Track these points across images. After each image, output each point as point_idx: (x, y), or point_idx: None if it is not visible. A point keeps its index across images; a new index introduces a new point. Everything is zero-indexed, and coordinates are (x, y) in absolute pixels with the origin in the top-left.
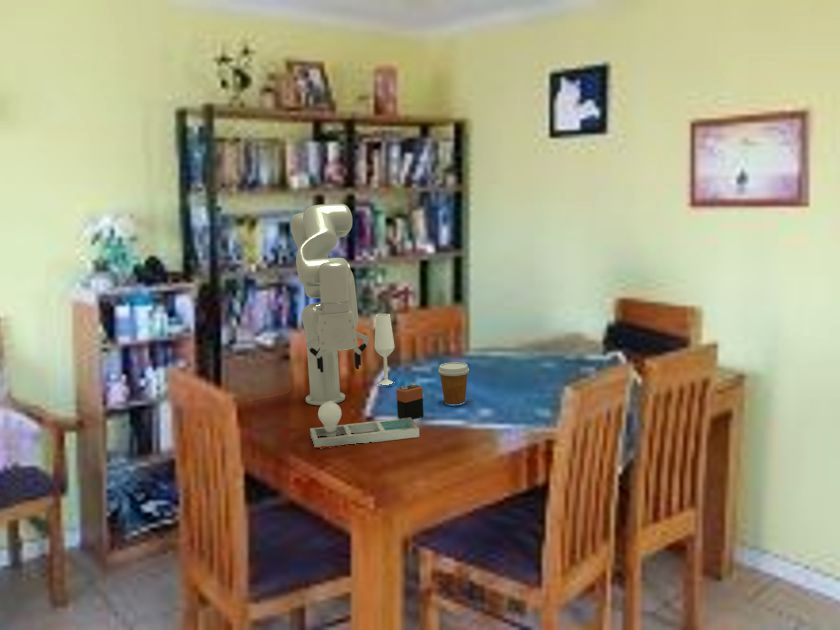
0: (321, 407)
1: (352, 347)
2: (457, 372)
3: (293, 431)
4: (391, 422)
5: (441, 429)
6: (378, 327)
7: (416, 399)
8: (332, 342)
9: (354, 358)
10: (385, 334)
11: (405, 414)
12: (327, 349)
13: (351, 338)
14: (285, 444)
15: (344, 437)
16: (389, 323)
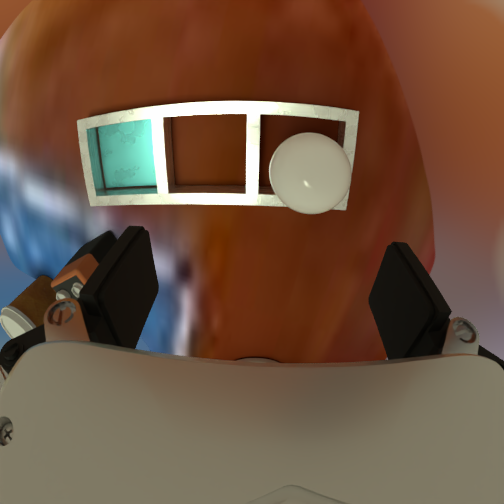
0: (346, 174)
1: (62, 348)
2: (7, 310)
3: (361, 252)
4: (132, 192)
5: (51, 158)
6: None
7: (71, 263)
8: (420, 482)
9: (142, 329)
10: None
11: (104, 238)
12: (458, 366)
13: (16, 476)
14: (401, 177)
15: (271, 102)
16: None
